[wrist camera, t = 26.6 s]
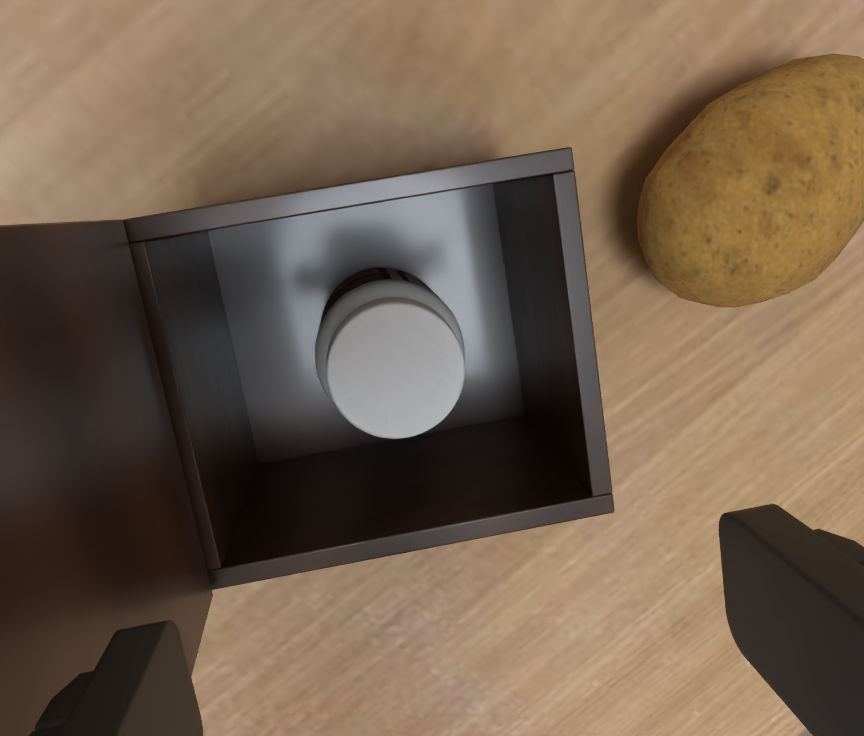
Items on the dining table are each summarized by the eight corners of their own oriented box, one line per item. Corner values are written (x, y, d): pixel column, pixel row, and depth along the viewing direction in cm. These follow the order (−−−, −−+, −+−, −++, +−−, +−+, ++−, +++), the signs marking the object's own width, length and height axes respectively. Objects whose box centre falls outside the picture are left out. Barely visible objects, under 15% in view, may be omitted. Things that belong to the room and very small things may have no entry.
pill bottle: (312, 376, 40) (297, 440, 29) (332, 255, 39) (324, 274, 28) (431, 395, 41) (460, 466, 30) (454, 277, 40) (493, 305, 29)
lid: (-180, 234, 10) (-638, 306, 10) (88, 1066, 13) (-252, 1158, 12) (123, 219, 26) (-43, 245, 26) (212, 595, 29) (66, 626, 28)
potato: (1015, 183, 33) (923, -18, 30) (746, 378, 34) (633, 203, 31) (870, 168, 42) (788, 11, 39) (661, 322, 43) (567, 182, 40)
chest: (503, 164, 40) (572, 146, 27) (538, 423, 43) (615, 513, 30) (190, 215, 39) (114, 220, 26) (248, 476, 42) (204, 592, 29)
